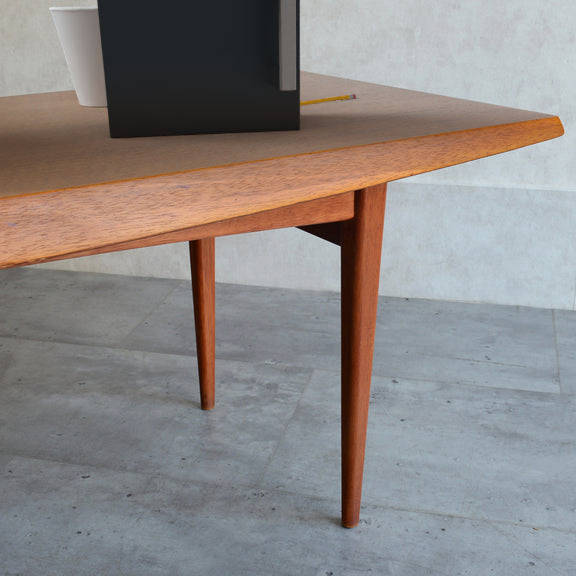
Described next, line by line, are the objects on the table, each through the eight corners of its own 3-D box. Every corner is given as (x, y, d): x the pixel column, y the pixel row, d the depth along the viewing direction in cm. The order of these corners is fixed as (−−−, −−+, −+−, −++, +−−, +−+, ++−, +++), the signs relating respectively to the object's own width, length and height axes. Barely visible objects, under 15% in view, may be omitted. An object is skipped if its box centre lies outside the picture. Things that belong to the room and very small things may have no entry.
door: (313, 139, 74) (314, -79, 67) (109, 149, 70) (87, -82, 63) (298, 128, 80) (297, -73, 73) (110, 136, 76) (90, -75, 69)
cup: (68, 98, 106) (58, 6, 101) (152, 96, 107) (145, 5, 102) (52, 110, 95) (39, 7, 90) (145, 108, 96) (137, 6, 91)
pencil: (356, 99, 104) (356, 94, 104) (289, 109, 96) (290, 104, 95) (351, 98, 105) (351, 93, 105) (285, 109, 96) (285, 103, 96)
